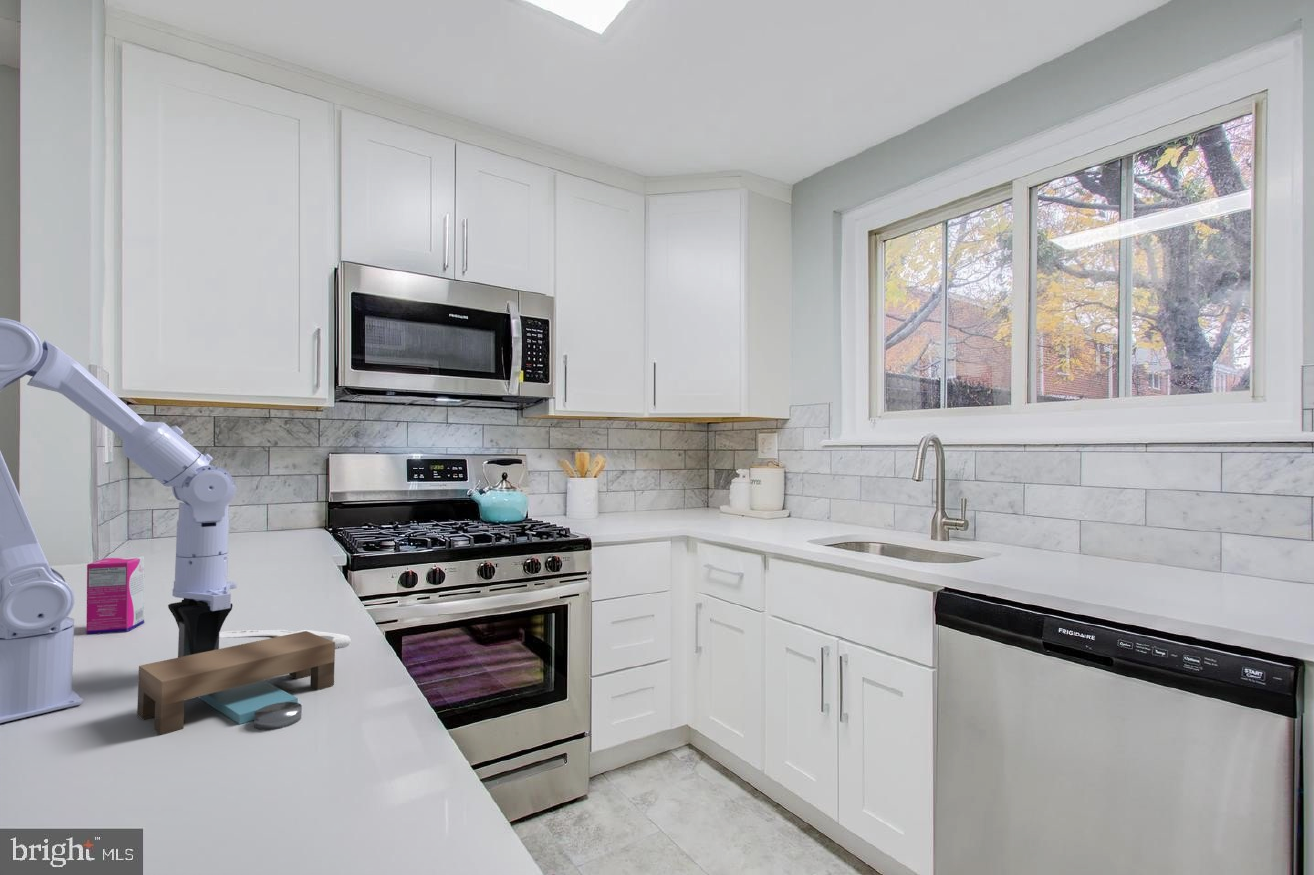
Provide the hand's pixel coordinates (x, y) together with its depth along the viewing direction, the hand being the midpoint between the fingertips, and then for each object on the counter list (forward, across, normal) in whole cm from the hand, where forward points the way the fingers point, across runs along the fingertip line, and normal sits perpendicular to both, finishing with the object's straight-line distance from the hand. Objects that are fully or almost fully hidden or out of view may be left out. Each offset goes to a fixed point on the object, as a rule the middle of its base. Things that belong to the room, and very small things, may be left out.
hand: (198, 655), depth 84 cm
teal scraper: (+2, -11, 0) cm, 11 cm away
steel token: (+2, -24, 0) cm, 24 cm away
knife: (+3, +10, -12) cm, 16 cm away
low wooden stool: (+2, -14, 0) cm, 15 cm away
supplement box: (+2, +34, +1) cm, 35 cm away
